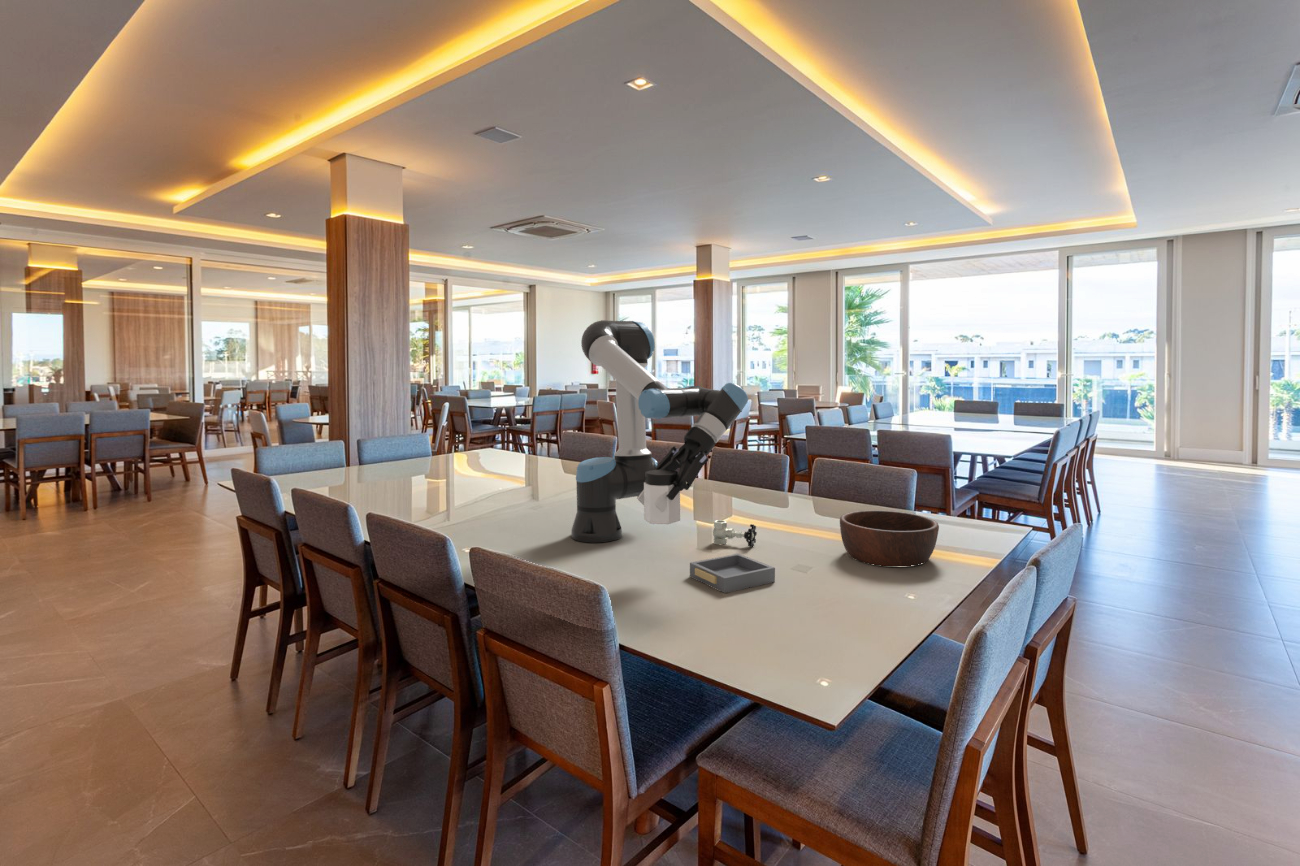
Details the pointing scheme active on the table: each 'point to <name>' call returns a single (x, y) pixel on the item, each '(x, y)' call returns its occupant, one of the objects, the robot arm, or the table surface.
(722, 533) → the valve
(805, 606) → the table surface
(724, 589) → the tray
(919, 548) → the wooden bowl
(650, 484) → the jar
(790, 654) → the table surface
